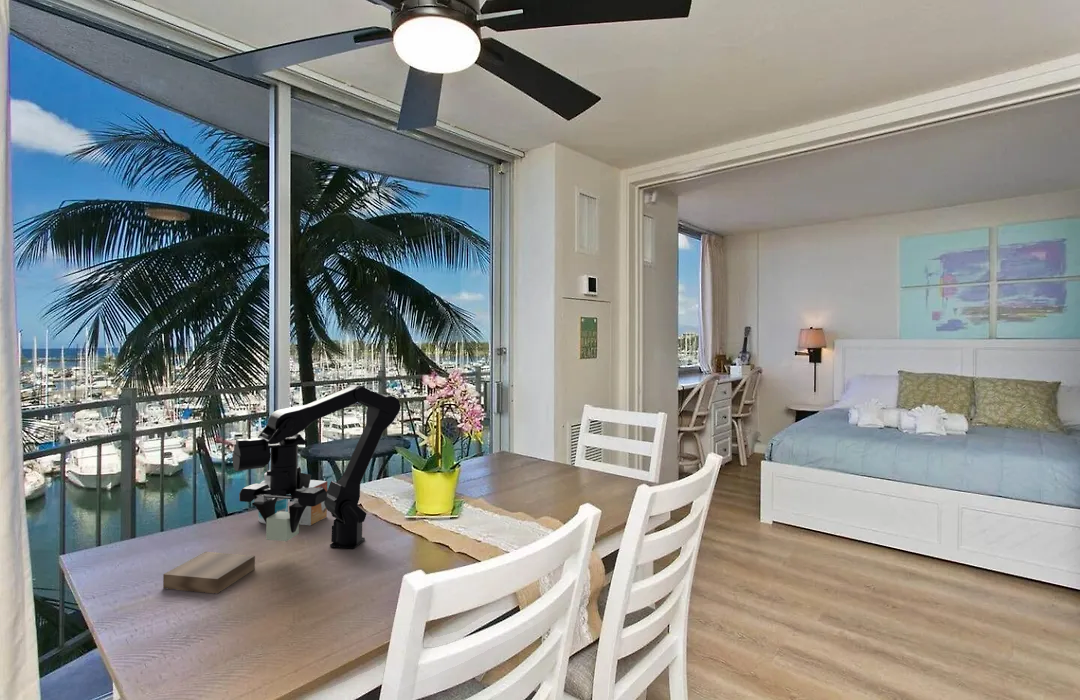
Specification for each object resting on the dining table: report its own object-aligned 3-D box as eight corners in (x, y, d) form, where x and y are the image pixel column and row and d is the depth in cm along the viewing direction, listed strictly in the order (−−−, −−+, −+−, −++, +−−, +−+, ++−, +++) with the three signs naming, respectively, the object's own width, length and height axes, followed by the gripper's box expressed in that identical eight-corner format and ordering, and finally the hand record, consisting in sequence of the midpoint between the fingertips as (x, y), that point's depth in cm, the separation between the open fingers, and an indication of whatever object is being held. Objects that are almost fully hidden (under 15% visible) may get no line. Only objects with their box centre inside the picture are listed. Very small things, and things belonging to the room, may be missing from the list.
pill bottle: (264, 516, 160) (265, 469, 159) (291, 516, 160) (292, 469, 160) (253, 525, 152) (254, 475, 152) (281, 525, 153) (282, 476, 152)
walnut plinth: (254, 569, 124) (254, 555, 124) (217, 593, 113) (217, 579, 112) (205, 564, 126) (205, 551, 126) (163, 588, 114) (163, 574, 114)
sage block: (298, 533, 132) (299, 512, 132) (286, 541, 127) (286, 519, 127) (279, 532, 133) (279, 511, 132) (266, 539, 128) (266, 518, 127)
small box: (310, 526, 152) (311, 488, 152) (292, 524, 153) (293, 486, 153) (327, 517, 160) (328, 480, 160) (310, 515, 161) (310, 479, 161)
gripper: (338, 459, 136) (337, 522, 137) (267, 455, 139) (266, 517, 139) (314, 470, 125) (313, 539, 126) (238, 465, 127) (237, 532, 128)
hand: (282, 531), depth 130 cm, fingers closed on sage block, 5 cm apart
